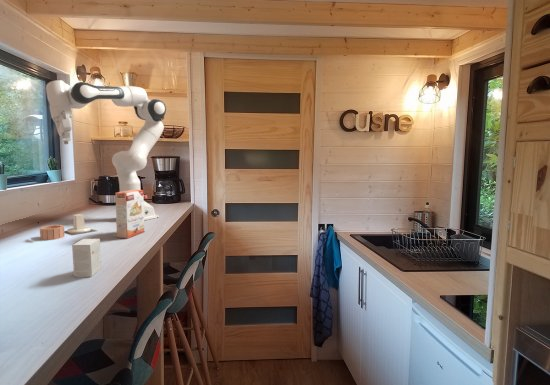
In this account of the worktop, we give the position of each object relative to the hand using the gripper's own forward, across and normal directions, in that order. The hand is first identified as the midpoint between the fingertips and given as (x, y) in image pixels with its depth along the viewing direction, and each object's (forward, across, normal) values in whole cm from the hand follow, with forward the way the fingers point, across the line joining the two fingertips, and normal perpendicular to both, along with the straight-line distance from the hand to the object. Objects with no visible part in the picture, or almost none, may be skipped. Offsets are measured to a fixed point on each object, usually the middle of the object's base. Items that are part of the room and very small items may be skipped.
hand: (67, 142), depth 174 cm
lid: (+43, -3, +3) cm, 44 cm away
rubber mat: (+44, -3, +3) cm, 44 cm away
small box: (+53, -67, +10) cm, 87 cm away
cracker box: (+49, -22, -15) cm, 56 cm away
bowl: (+44, -10, +15) cm, 47 cm away
